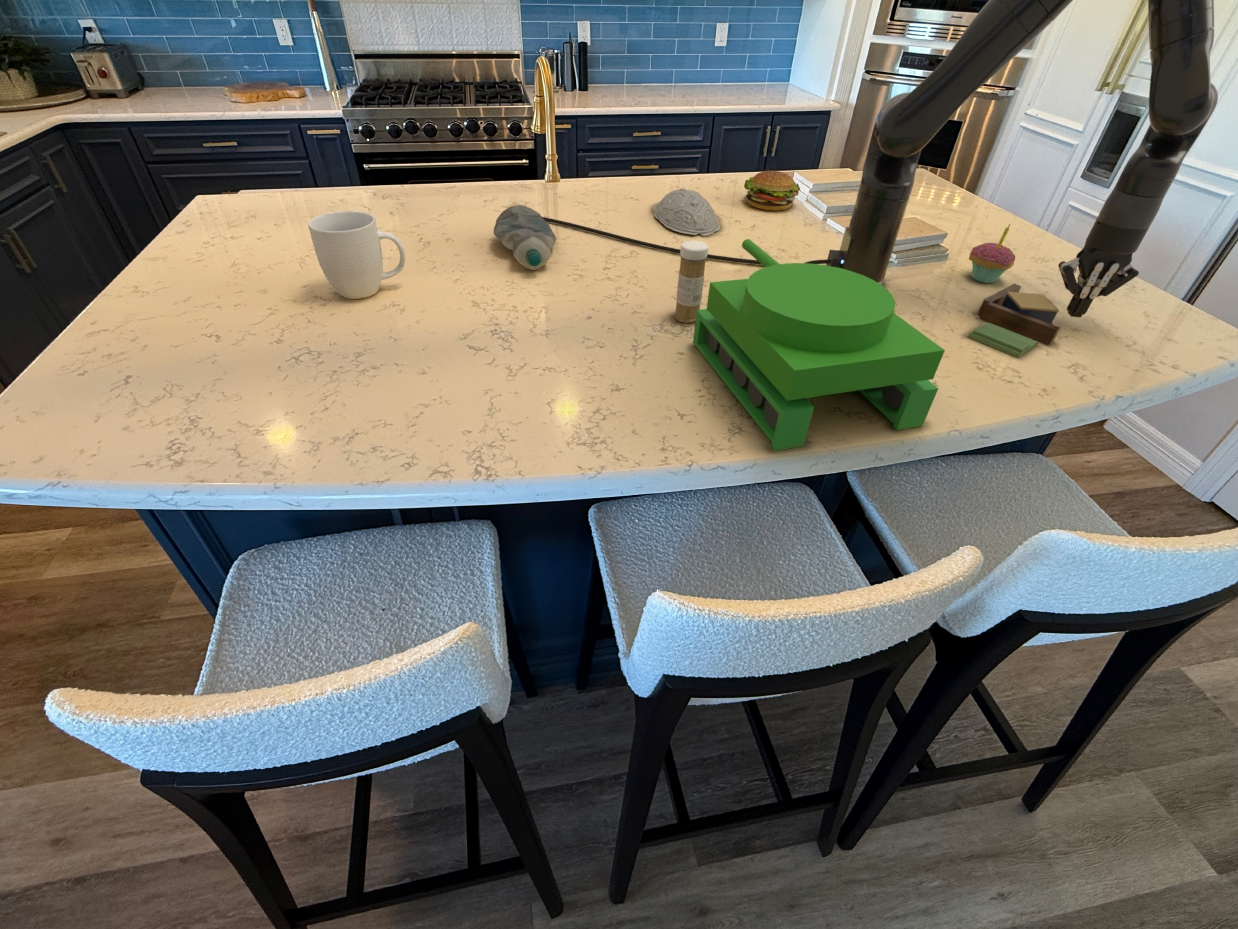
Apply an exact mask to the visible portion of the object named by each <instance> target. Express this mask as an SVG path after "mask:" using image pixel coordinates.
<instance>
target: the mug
mask: <svg viewBox="0 0 1238 929" xmlns="http://www.w3.org/2000/svg"><path fill="white" fill-rule="evenodd" d="M307 226H308V230H309V234H310V237H311V241H312V245H313V248H314V252H315V255H316V258H317V262H318V263H319V267H320V268H321V270H322V273H323V275H324V276H325V278H326V280H327V281H328V282H329V284H330V286H331V287H332V288H333V289H334V290H335V291H336V292H337V294H339V295H340V296H341V297H343V298H344V299H345V298H346V299H349V300H360V299H366V298H370V297H372V296H373V295H375V294H376V293H378V291H379V288H380V286H381V282H382V281H384V280H388V279H390V278H393V277H395V276H397V275H398V274H400V273H401V272H402V271H403V269H404V267H405V264H406V251H405V248H404V246H403V244H402V242H401V240H400V239H399V238H398V237H397V236H396V235H394V234H393V233H391V232H388V231H383V230H382V231H379V230H378V226H377V221H376V218H375V216H374V215H373V214H371V213H368V212H364V211H360V210H337V211H329V212H326V213H322V214H318V215H315V216H313V217H311V219H310V220H309V221H308V223H307ZM385 239H386V240H390V241H392V242H393V243H394V244H395V245H396V247H397V249H398V251H399V262H398V265H397V266H396V267H395V268H394V269H392V270H391V271H388V272H383V270H384V261H383V252H382V245H381V240H385Z"/></svg>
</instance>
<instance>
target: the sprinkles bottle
mask: <svg viewBox="0 0 1238 929" xmlns="http://www.w3.org/2000/svg"><path fill="white" fill-rule="evenodd" d="M707 254H709V245H708V244H707V243H705V242H704V241H701V240H686V241H684V242H682V243H681V245H680V253H679V255H680V263H679V272H678V278H677V279H678V280H677V288H676V304H675V313H674V318H675V320H677V321H679V322H680V323H683V324H684V323H685V324H693V323H695V321H696V313H697V310H701V304H702V298H703V290H704V281H705V270H706V262H707V259H708V258H707Z"/></svg>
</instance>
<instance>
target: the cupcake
mask: <svg viewBox="0 0 1238 929" xmlns="http://www.w3.org/2000/svg"><path fill="white" fill-rule="evenodd" d="M1010 226H1011V223H1009V224H1008V226H1006V227H1005V229H1004V231H1003V232H1002V235H1001V237H1000V238H999V241H998V243H997V242H984V243H981V244H978V245H977V246H976V245H975V246H974V247H972V249H971V251H970V252H969V255H968V260H969V261H971V262H972V263H971V264H972V267H971V268H972V269H971V277H972V279H974V280H975V281H978V282H980V283H984V284H985V283H986V284H993V283H996V282H997V281H998V279H999V278H1000V277H1001V276H1002V275H1003V274H1004V273H1005V272H1006V271H1007V270H1009V269H1011V268H1012V267H1013V266H1014V264H1015V261H1016V255H1015V253H1014V252H1013V250H1011V248H1010V247H1009V248H1008V247H1007V246H1004V245H1003V243H1004V241H1005V239H1006V237H1007V235H1008V233H1009V231H1010V229H1011V227H1010Z"/></svg>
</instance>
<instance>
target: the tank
mask: <svg viewBox="0 0 1238 929" xmlns="http://www.w3.org/2000/svg"><path fill="white" fill-rule="evenodd" d="M741 247H742V249H743V250H745V252H747V253H748V254H749V255H750V256H751V257H752V258H754V260H757V261H759V262H760V263H761V264H762V265H761V266H764V267H762V268H760V269H757V270H755V271H754V272H753V273H752V274H750V275H749V277H748V278H741V279H732V280H720V281H718V280H717V281H710V282H709V288H708V296H707V301H706V302H707V303H706V308H704V309H703V308H702V309H701V308H700V310H697V313H696V321H695V322H694V330H693V338H692V344H693V346H695V347H696V348H697V350H698V351H699V353H700V354H701V355H702V357H703V358H704V359H705V360H706V361H707V362H708V364H709V365H710V366H711V368H712V369H713V370H714V371H715V372H716V374H717V375H718V377H719V378H720V380H722V381H723V383H724V384H725V386H727V388H728V389H729V390H730V392H731V393H732V394H733V395H734V397H735V398H736V399H737V401H738V402H739V403H740V405H741V406H742V407H743V408H744V409H745V411H746V412H747V413H748V415H749V416H750V417H751V418H752V420H753V421H754V422H755V423H756V425H757V426H758V427H759V428H760V430H761V431H762V432H763V433H764V435H765V436H766V437H767V438H768V440H769V442H771V446H770V447H771V449H772V450H773V451H774V452H777V451H783V450H789V449H793V448H800V447H804V444H805V441H806V439H807V435H808V430H809V428H810V423H811V419H812V417H813V413H814V410H815V406H813V404H812V403H811V402H810V401H809V400H808V399H809V398H814V397H821V396H823V397H824V396H829V395H835V394H843V393H847V392H848V393H849V392H857V391H858V392H859V393H860V394H861V395H862V396H863V397H864V398H865V399H867V400H868V401H869V402H870V404H872V405H873V406H874V407H875V408H876V409H877V410H878V411H879V412H880V413H881V414H883V416H884V417H886V418H887V419H888V420H889V421H890V422H891V424H892V428H893V429H894V430H895V431H901V430H906V429H907V430H908V429H913V428H919V427H923V426H924V424H925V422H926V419H927V416H928V414H929V412H930V409H931V407H932V405H933V403H934V400H935V398H936V395H937V394H938V390H939V387H938V386H937V385H935V384H934V383H932V382H931V381H930V380H934V378H935V375H936V372H937V371H938V369H939V366H940V364H941V361H942V359H943V356H944V353H945V352H946V350H945V349H944V348H943V347H941V346H940V345H938V344H937V343H936V342H935V341H933V340H932V339H930V338H929V337H928V336H926V335H925V334H923V333H922V332H921V331H920V330H918V329H917V328H916V327H914V326H913V325H911V324H910V323H908V322H907V321H906V320H904V319H903V318H901V317H900V316H899V315H898V314H896V313H895V309H896V300H895V297H894V295H893V294H892V293H891V292H890V291H889V290H888V289H887V288H886V287H885V286H883V284H882V285H881V284H879V283H877V282H876V281H874V280H872V279H870V278H868V277H865V276H863V275H861V274H858V273H855V272H852V271H849V270H845V269H841V268H837V267H832V266H827V265H826V264H810V263H805V262H790V263H789V262H788V263H780V262H778V261H777V260H776V259H774V258H773V257H772V256H770V254H769V253H767V252H766V251H764V249H762V248H761V247H760V246H758V245H757V244H756V243H754V242H753V241H752V240H751V239H749V238H746V239H744V240H743V241H742V244H741Z"/></svg>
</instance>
